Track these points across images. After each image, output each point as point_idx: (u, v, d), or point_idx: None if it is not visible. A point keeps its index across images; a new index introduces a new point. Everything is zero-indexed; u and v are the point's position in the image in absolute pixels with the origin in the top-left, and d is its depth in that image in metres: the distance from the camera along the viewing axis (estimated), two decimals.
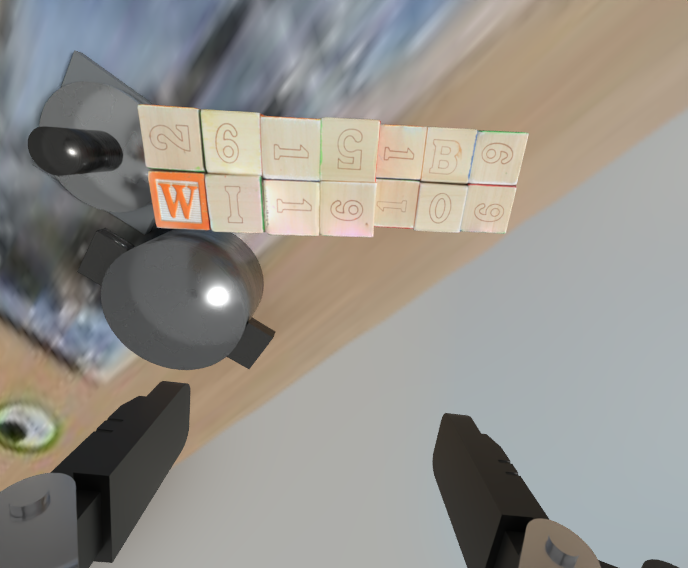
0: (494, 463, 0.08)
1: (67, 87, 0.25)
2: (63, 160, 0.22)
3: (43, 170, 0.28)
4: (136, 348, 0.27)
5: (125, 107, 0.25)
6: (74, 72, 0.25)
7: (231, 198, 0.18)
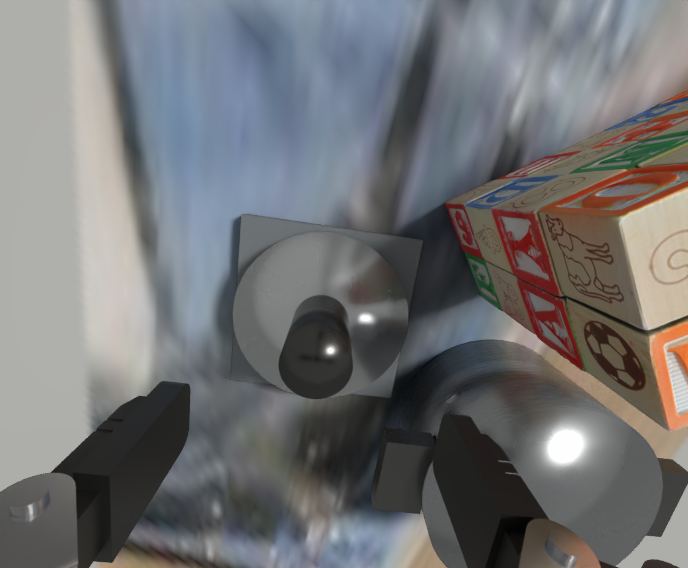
0: (494, 463, 0.08)
1: (255, 264, 0.17)
2: (334, 370, 0.13)
3: (245, 380, 0.20)
4: None
5: (334, 250, 0.17)
6: (248, 241, 0.18)
7: None
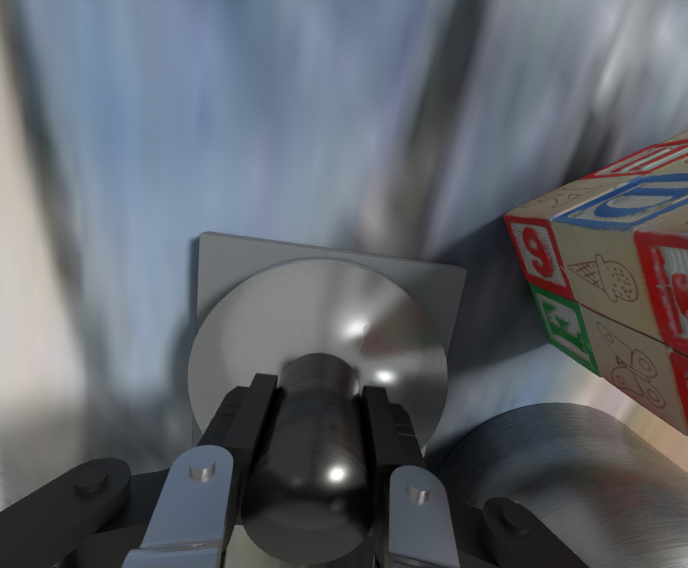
0: (389, 424, 0.09)
1: (219, 309, 0.11)
2: (341, 520, 0.07)
3: None
4: None
5: (338, 287, 0.11)
6: (211, 272, 0.12)
7: None
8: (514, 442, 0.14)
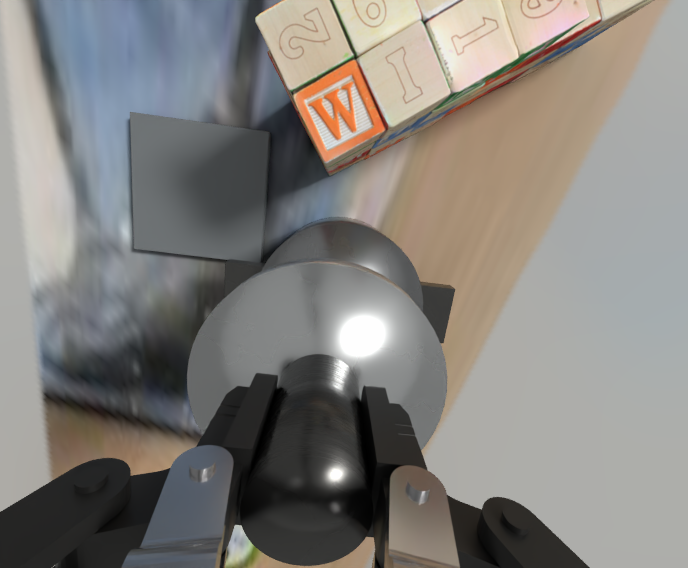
0: (389, 424, 0.09)
1: (218, 310, 0.11)
2: (340, 521, 0.08)
3: (145, 248, 0.26)
4: None
5: (337, 289, 0.11)
6: (137, 133, 0.24)
7: (398, 68, 0.14)
8: (302, 227, 0.26)
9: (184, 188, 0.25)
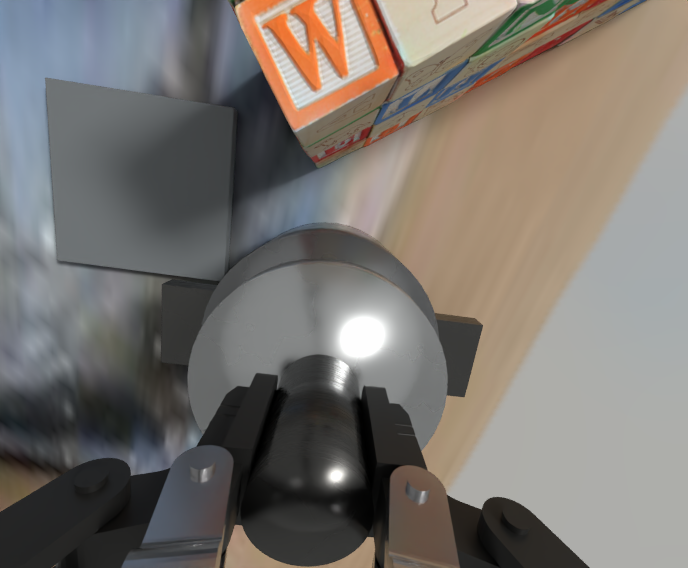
0: (390, 424, 0.09)
1: (219, 311, 0.11)
2: (341, 522, 0.08)
3: (72, 260, 0.20)
4: None
5: (337, 289, 0.11)
6: (56, 107, 0.18)
7: None
8: (277, 236, 0.19)
9: (122, 182, 0.19)
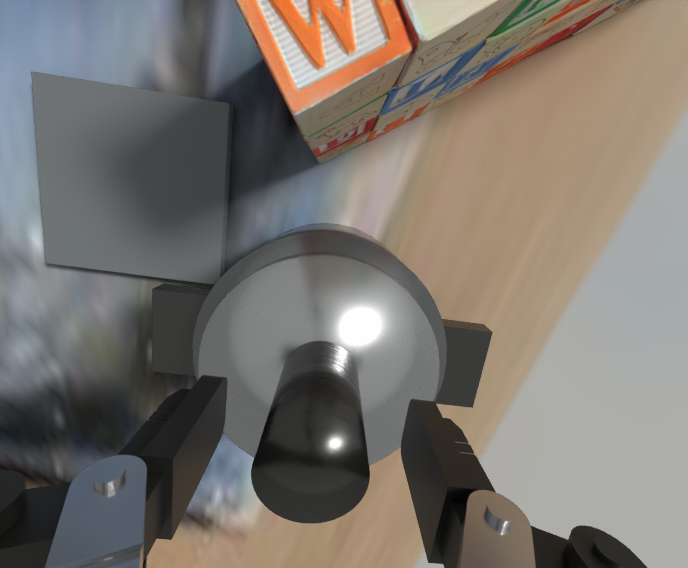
0: (449, 442, 0.09)
1: (228, 300, 0.12)
2: (340, 482, 0.08)
3: (61, 263, 0.19)
4: None
5: (337, 280, 0.12)
6: (43, 103, 0.17)
7: None
8: None
9: (112, 181, 0.18)
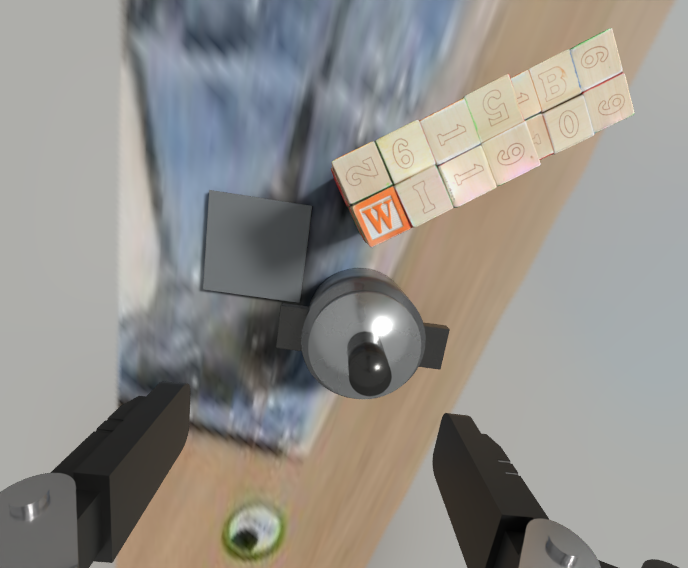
0: (494, 463, 0.08)
1: (325, 311, 0.27)
2: (381, 379, 0.23)
3: (211, 289, 0.34)
4: None
5: (374, 303, 0.27)
6: (213, 205, 0.33)
7: (420, 193, 0.22)
8: (334, 277, 0.33)
9: (245, 245, 0.33)
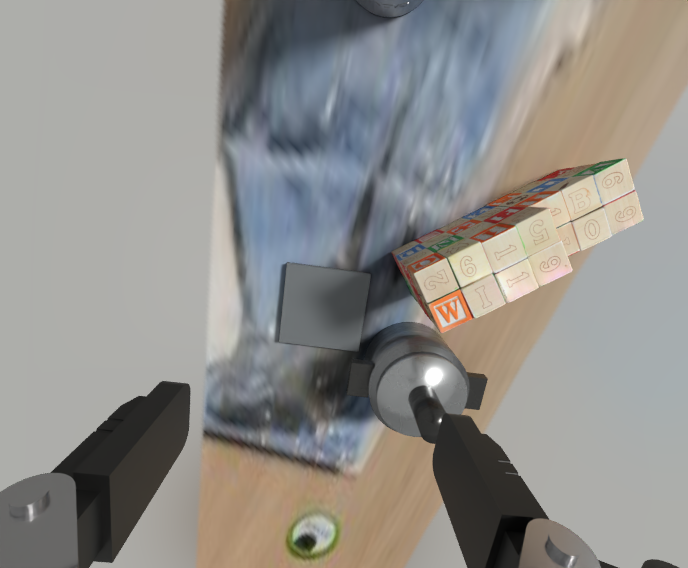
0: (494, 463, 0.08)
1: (392, 371, 0.34)
2: None
3: (286, 342, 0.41)
4: None
5: (431, 364, 0.34)
6: (289, 275, 0.39)
7: (481, 294, 0.28)
8: (389, 332, 0.40)
9: (315, 306, 0.40)
